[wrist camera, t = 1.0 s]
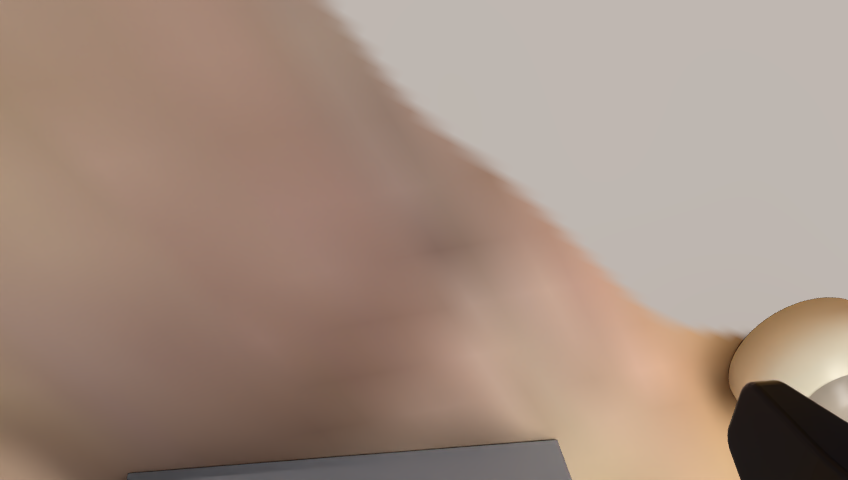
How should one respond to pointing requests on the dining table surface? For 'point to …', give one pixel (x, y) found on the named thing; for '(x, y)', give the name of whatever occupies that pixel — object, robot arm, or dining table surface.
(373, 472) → the carton
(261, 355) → the dining table surface
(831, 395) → the tape roll
